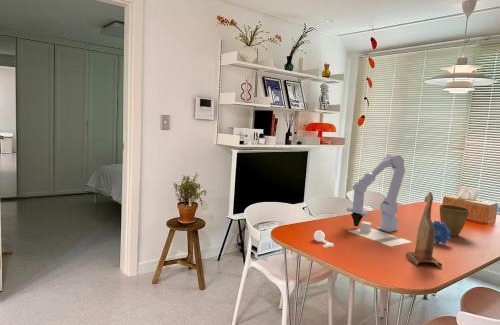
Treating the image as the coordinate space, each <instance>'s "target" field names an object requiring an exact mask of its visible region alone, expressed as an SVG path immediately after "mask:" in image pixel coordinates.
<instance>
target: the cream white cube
mask: <svg viewBox="0 0 500 325" xmlns="http://www.w3.org/2000/svg"><path fill="white" fill-rule="evenodd" d="M372 224H373V223H372V222H369V221H364V220H363V221H360V224H359V225H360V226H359V229H360V232H365V233H370V232H371V228H372Z"/></svg>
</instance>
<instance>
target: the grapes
mask: <svg viewBox="0 0 500 325" xmlns="http://www.w3.org/2000/svg"><path fill="white" fill-rule="evenodd" d="M432 223H433V225H434V228H435V240H434V243H436V244H439V243H441V244H443V245H445V244H447V241H450V240H451V239H452V238H451V237H452V236H450V235H449V234H451V231H450V229H448V228H447V225H446V224H445V223H441V221H440V220H437V219H436V220H434V222H433V221H432Z"/></svg>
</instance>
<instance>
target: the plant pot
mask: <svg viewBox="0 0 500 325" xmlns="http://www.w3.org/2000/svg"><path fill="white" fill-rule="evenodd" d="M469 213H470V209H469V208H466V207H464V206H459V205H453V204H439V217H440V224H441V223H445V224H446V225H447V228H448V229H450V231H451V234H449V235H450V237H459V235H460V234H461V232H462V230H463V229H464V226H465V224H466V221H467V219H468V217H469Z"/></svg>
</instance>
